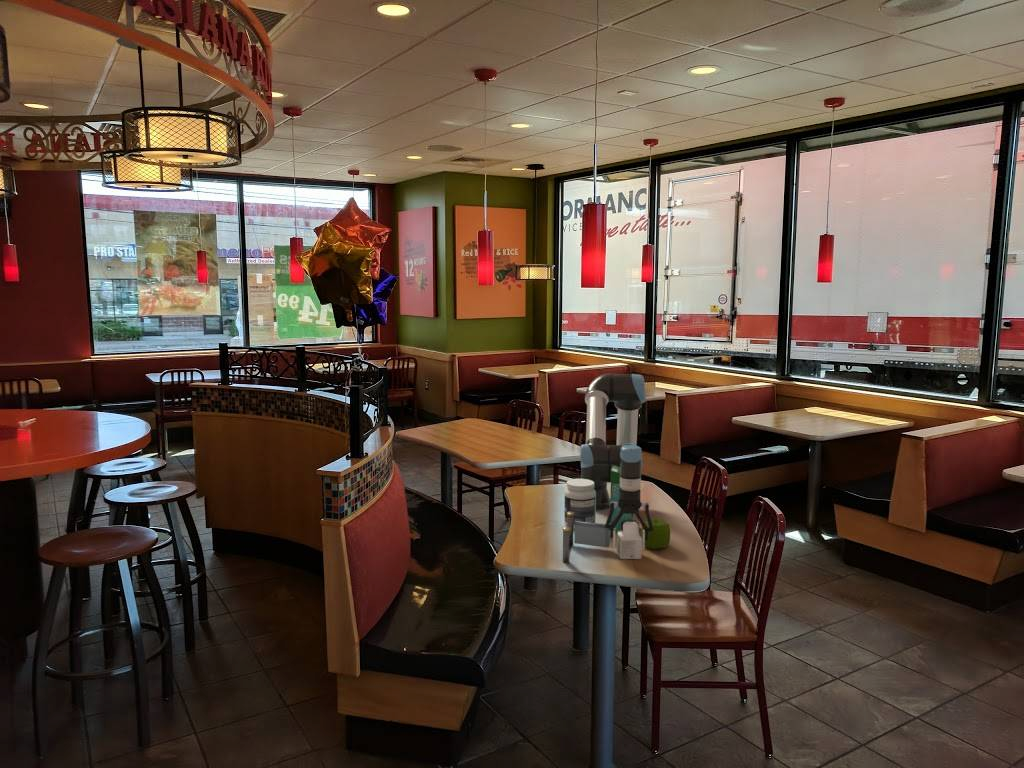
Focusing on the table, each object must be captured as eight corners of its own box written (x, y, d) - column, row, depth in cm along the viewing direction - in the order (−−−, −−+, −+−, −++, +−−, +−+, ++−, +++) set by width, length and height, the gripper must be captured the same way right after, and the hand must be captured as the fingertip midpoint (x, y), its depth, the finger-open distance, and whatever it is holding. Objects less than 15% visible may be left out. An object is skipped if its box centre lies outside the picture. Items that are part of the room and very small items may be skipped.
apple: (663, 554, 266) (664, 525, 264) (636, 548, 271) (637, 520, 270) (674, 544, 275) (675, 517, 273) (647, 539, 281) (648, 512, 279)
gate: (574, 543, 273) (574, 521, 272) (575, 542, 274) (575, 520, 273) (608, 547, 269) (609, 525, 267) (609, 546, 270) (609, 524, 269)
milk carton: (632, 532, 289) (633, 471, 285) (609, 530, 290) (610, 470, 287) (633, 524, 297) (634, 465, 294) (611, 523, 299) (612, 464, 296)
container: (616, 551, 268) (617, 517, 266) (636, 551, 268) (638, 517, 266) (620, 559, 260) (621, 524, 258) (641, 559, 260) (643, 524, 259)
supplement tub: (566, 519, 304) (566, 477, 302) (596, 521, 302) (597, 478, 299) (562, 529, 292) (562, 485, 289) (594, 531, 289) (594, 487, 286)
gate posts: (566, 543, 276) (567, 511, 274) (574, 544, 276) (574, 511, 274) (561, 563, 257) (562, 528, 255) (569, 563, 256) (569, 529, 255)
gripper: (598, 489, 259) (597, 549, 262) (662, 492, 255) (660, 553, 258) (599, 484, 266) (598, 541, 269) (661, 486, 262) (659, 545, 265)
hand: (628, 547), depth 264 cm, fingers open, 10 cm apart
